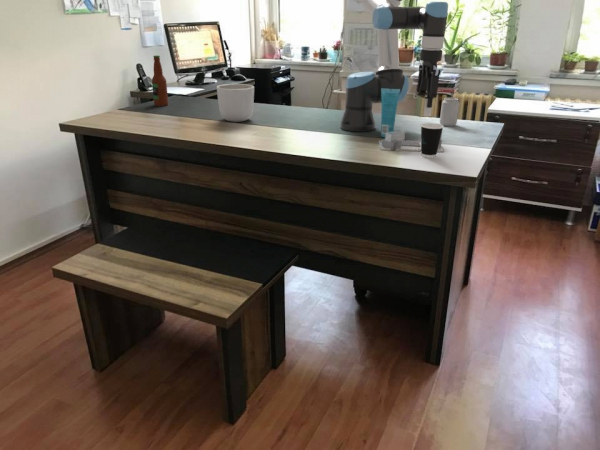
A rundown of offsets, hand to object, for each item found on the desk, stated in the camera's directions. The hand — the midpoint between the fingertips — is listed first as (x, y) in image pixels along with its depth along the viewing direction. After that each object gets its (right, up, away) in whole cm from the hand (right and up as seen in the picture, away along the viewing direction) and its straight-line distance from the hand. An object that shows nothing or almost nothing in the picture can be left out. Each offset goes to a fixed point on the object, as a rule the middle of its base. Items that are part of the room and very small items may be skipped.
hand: (423, 114), depth 186 cm
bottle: (-120, +22, +77) cm, 145 cm away
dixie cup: (0, -17, -8) cm, 19 cm away
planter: (-76, +7, +45) cm, 88 cm away
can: (+21, +4, +40) cm, 45 cm away
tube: (-11, -5, +18) cm, 22 cm away
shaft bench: (-5, -12, +3) cm, 13 cm away
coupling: (0, 0, 0) cm, 0 cm away
